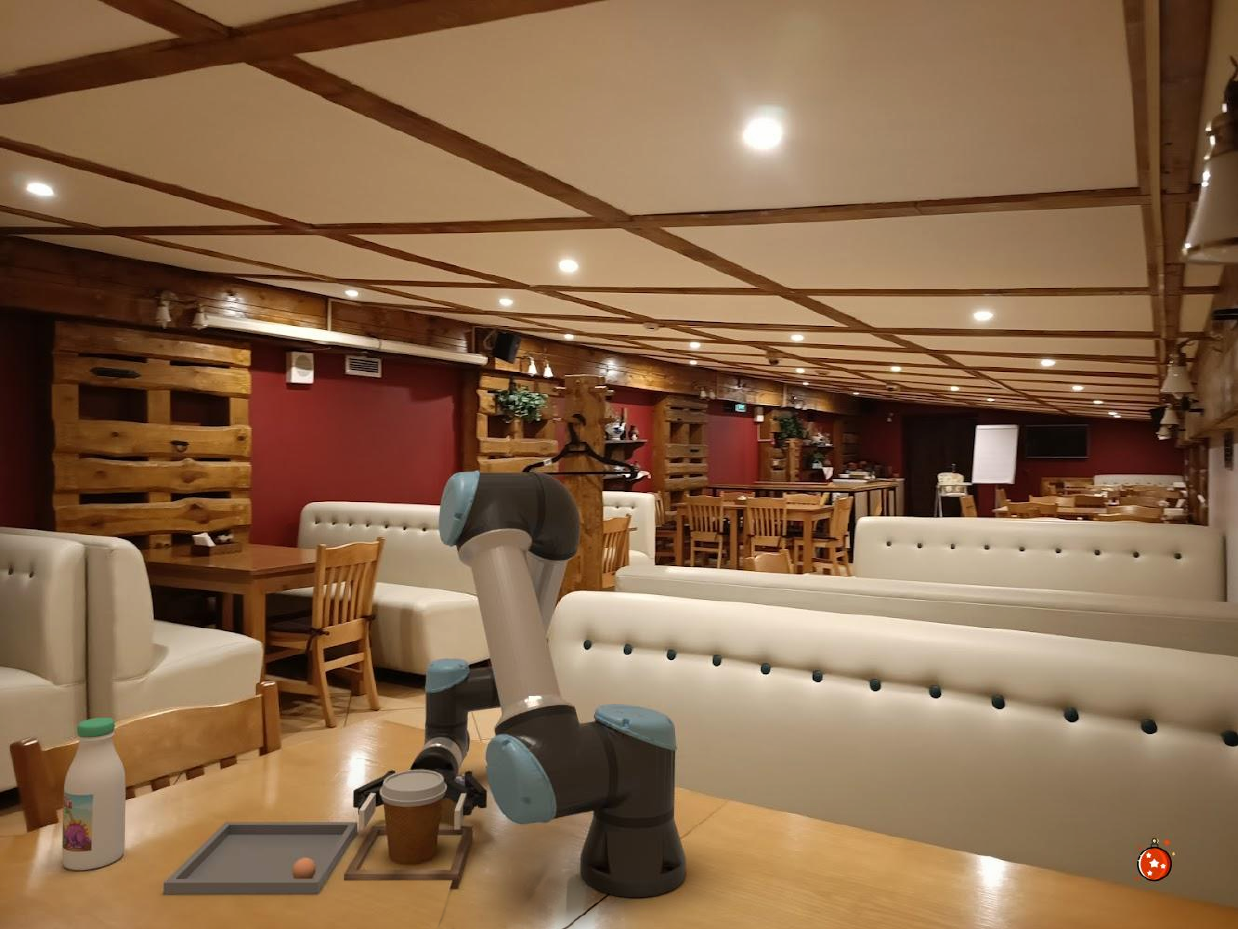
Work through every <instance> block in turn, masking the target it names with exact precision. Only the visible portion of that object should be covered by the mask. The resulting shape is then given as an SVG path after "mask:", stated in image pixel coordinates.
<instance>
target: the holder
mask: <svg viewBox="0 0 1238 929" xmlns="http://www.w3.org/2000/svg"><path fill="white" fill-rule="evenodd" d="M379 836H387V831H386V825H383V826H382V825H381V826H380V825H379V826H378V825H374V826H373V825H372V827H371V829H370V830H369V831H368V833H367V835H366V837H365V838H364V840H363V841H362V843H361V845H360V847H359V848H358V850H357V852H356V853H355V855H354V857H353V858H352V860H351V861H350V863H349V865H348V866H347V868H346V870H345V872H344V873H343V880H344V881H451V883H450V886H449V889H450V890H451V889H458V888H459V885H460V881H461V878H462V876H461V875H463V872H464V870H465V865H466V863H465V862H467V858H468V855H469V852H470V850H469V849H471V846H472V842H473V840H474V839H473V837H474V826H472V825H471V826H470V825H468V826H467V825H463V826H462V825H461V827H460V829H454V826H453V825H452V826H451V825H450V826H449V825H442V826H441V825H439V831H438V836H461V838H460V840H459V844H458V847H457V850H456V852H455V856H454V858H453V861H452V865H451V866H450V869H361V867H362V866H363V863H364V861H365V860H366V858H367V857H368V855H369V853H370V851H371V849H372V847H373V846H374V844H375V842H376V840H377V839H378V838H379Z"/></svg>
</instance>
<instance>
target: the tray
mask: <svg viewBox="0 0 1238 929" xmlns="http://www.w3.org/2000/svg"><path fill="white" fill-rule="evenodd" d="M357 833H358V821H349V822H348V821H339V822H338V821H337V822H336V821H225V822H224V823H223V824H222V825H221V826H220V827H219V828H217V830H216V831H215V832H213V833H212V835H211V836H209V838H208V839H207V840H206V841H205V842H203V844H201V846H199V848H197V849H196V851H194V852H193V853H192V854H191V855H190V857H188V858H187V859H186V860H185V861H184V862H183V863H182V864H181V865H180V866H179V867H178V868H177V869H176V870H175V871H174V872H173V873H172V874H171V875H170V876H169V877H168V878H167V879H166V880H165V881H164V882H163V895H171V896H172V895H176V896H177V895H180V896H181V895H319V894H320V892H321V890H322V889H323V888H324V886H325V884H326V883H327V881H328V879H329V878H330V876H331V875H332V873H333V871H334V870H335V868H336V866H338V864H339V862H340V860H341V859H342V857H343V856H344V854H345V853H346V851H347V849H348V848H349V846H350V845H351V843H352V841H353V840H354V838H355V837H356V835H357ZM302 858H310V859H312V860H313V861H314V863H315V865H316V871H315V874H314V876H313V877H312V878H311V879H295V878H294V877H293V874H292V870H293V866H294V864H295V863H296V862H297V861H298V860H300V859H302Z"/></svg>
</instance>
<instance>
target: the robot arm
mask: <svg viewBox="0 0 1238 929" xmlns="http://www.w3.org/2000/svg"><path fill="white" fill-rule="evenodd" d="M440 500H441V501H440V505H439V516H438V531H439V537H440V540H441V542H442V544H444V545H445V546H448V547H452V548H453V547H454V546H456V550H457V554H458V560H459V561H460V562H461V563H462V564H463V565H464V566H465V565H466V566H468V567H469V568H470V569H471V573H472V578H473V583H474V587H475V593H476V598H477V601H478V606H479V611H480V616H481V620H482V625H483V629H484V634H485V635H484V636H485V640H486V644H487V649H488V654H489V658H490V663H491V666H485V667H478V668H470V667H469V666H470V665H469V663H468V661H467V660H465V659H461V658H454V657H453V658H448V657H447V658H440V659H435V660H433V661H431V662H430V663H429V664H428V665H427V668H426V669H427V670H426V676H425V685H424V686H425V687H424V690H425V691H424V692H425V723H424V743H423V746H422V748H421V749H420V751H419V752H418V754H417V756H416V757H415V759H414V760H413V762H412V765H410V768H409V770H429V771H435V772H437V773H440V774H441V775H442V776H443V777H444V782H445V784H446V785H447V789H446V792H445V794H444V796H443V800H449V801H451V802H453V803H454V804H456V806H455V809H454V823H453V825H454V829H460V827H461V826H462V823H463V821H464V819H465V816H471V815H472V814H473V810H475V807H478V808H479V809H486V808H487V807H488V806H487V804H488V803H487V802H488V800H487V799H488V790H487V789H486V788H485V787H484V786H483V785H482V784H481V783H480V782H479V781H478V780H477V779H476V778H475V777H474V776H473V771H471V770H466V771H464V773H463V774H461V776H460V775H459V776H458V774H459V772H460V769H461V767H462V764H463V762H464V760H465V759H466V757H467V755H468V752H469V750H470V745H471V744H470V743H471V735H470V732H469V730H468V720H469V716H468V715H469V713H470V712H477V711H483V710H491V709H500V711H501V716H500V718H499V719H498V721H497V723H496V724H495V726H494V728H493V731H494V735H495V736H494V737H493V738H491V739H490V740H489V742H488V743H487V746H486V749H485V761H486V764H487V765H486V766H485V770H486V771H485V772H486V773H485V774H486V777H487V782H488V786H489V789H490V793H491V795H492V797H493V799H494V802H495V804H496V806H497V807H498V809H499V810H500V812H501V813H502V814H503V815H504V816H505V817H506V818H507V819H508V820H509V821H511V822H512V823H514V824H517V825H529V824H537V823H542V824H546V823H550V822H551V821H552V820H556V819H561V818H566V817H570V816H574V815H578V814H584V813H589V812H593V814H592V820H591V823H590V826H589V829H588V832H587V835H586V837H585V841H584V844H583V846H582V849H581V853H580V859H579V860H580V861H579V862H580V864H579V865H580V866H579V867H580V868H579V872H580V876H581V878H582V880H583V881H584V882H585V883H586V884H587V885H588V886H590V887H591V888H593V889H595V890H597V891H600V892H601V893H605V894H608V895H612V896H617V897H623V898H624V897H625V898H648V897H653V896H659V895H663V894H666V893H668V892H670V891H673V890H675V889H676V888H678V887H679V886H681V884H682V883H684V880H685V878H686V867H687V866H686V865H687V864H686V862H687V859H686V854H685V851H684V848H683V844H682V840H681V838H680V833H679V831H678V828H677V827H678V826H677V823H676V820H675V797H676V796H675V793H676V792H675V790H676V789H675V788H676V751H677V749H678V747H677V746H678V745H677V740H676V727H675V724H674V721H673V720H672V719H671V717H669V716H668V715H667V714H664V712H663V713H662V712H660V711H658V710H655V709H652V708H648V707H643V706H639V705H631V704H621V703H619V704H618V703H617V704H616V703H611V704H602V705H600V706H598V707H597V708H596V709H595V710H594V711H595V712H594V714H593V719H594V720H593V721H588V722H581V723H580V721H579V718H578V714H577V710H576V707H575V705H574V704H572V703H571V702H569V701H567V700H566V699H564V698H563V697H562V694H561V689H560V686H559V682H558V679H557V675H556V671H555V667H554V664H553V663H554V662H553V659H552V655H551V650H550V646H549V643H548V639H547V636H548V632H549V628H550V625H551V622H552V618H553V614H554V611H555V608H556V604H557V601H558V598H559V593H560V590H561V586H562V582H563V580H564V576H565V572H566V569H567V565H568V563H569V561H570V560H572V559H574V558H575V556H577V555H576V554H577V551H578V548H579V545H580V541H581V534H582V532H581V530H582V525H581V523H582V522H581V516H580V511H579V508H578V505H577V503H576V500H575V498H574V496H573V495H572V494H571V492H570V490H569V489H568V488H567V486H566V485H565V484H563V483H562V482H561V481H560V480H559V479H557V478H555V477H553V476H552V475H550V474H548V473H545V472H541V471H540V472H538V471H529V472H528V471H527V472H524V471H523V472H519V471H518V472H514V471H513V472H512V471H511V472H506V471H504V472H503V471H496V472H495V471H493V472H492V471H489V472H487V471H486V472H484V471H483V472H481V471H479V470H475V471H463V472H461V471H460V472H456V473H454V474H452V476H450V478H448V479H447V482H446V484H445V486H444V488H443V492H442V496H441V499H440ZM395 773H396V771H395V770H392V769H391V770H389V771H387V772H385V774H384V775H382V776H379V777H378V778H375V779H374V780H372V781H370V782H367V783H366V784H364V785H361V786H359V787H358V788H355V789H353V793H352V795H353V796H352V799H353V800H352V808H355V809H357V811H358V812H357V814H358V830H365V829H366V827H367V825H368V824H369V822H370V821H371V819H372V818H373V815H374V814H375V813H376V808H377V807H380V806H382V805H383V806H384V804H383V800H382V797H381V795H380V789H381V788H382V786H383V782H384V780H385V779H386V778H387V777H388V776H390V775H392V774H395Z"/></svg>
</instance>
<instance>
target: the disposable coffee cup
mask: <svg viewBox="0 0 1238 929" xmlns="http://www.w3.org/2000/svg"><path fill="white" fill-rule="evenodd" d="M446 789H447V785H446V784H445V782H444V777H443V776H442V775H441V774H440V773H437V772H435V771H429V770H410V769H407V770H404V771H403V770H402V771H398V772H395V774H392V775H390V776H388V777H387V778H386V779H385V780H384V782H383V786H382V788H381V789H380V795H381V797H382V800H383V811H384V821H385V826H386V831H387V835H386V839H387V849H388V857H389V860H390V861H391V862H393V863H394V864H397V865H401V866H403V865H404V866H413V865H414V866H415V865H420V864H423V863H425V862H429V861H430V860H431V859H433V858H434V857H435V855H436V852H437V844H438V836H439V835H438V831H439V826H440V822H441V816H442V810H443V809H442V807H443V800H444V799H443V796H444V794H445V792H446Z"/></svg>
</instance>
